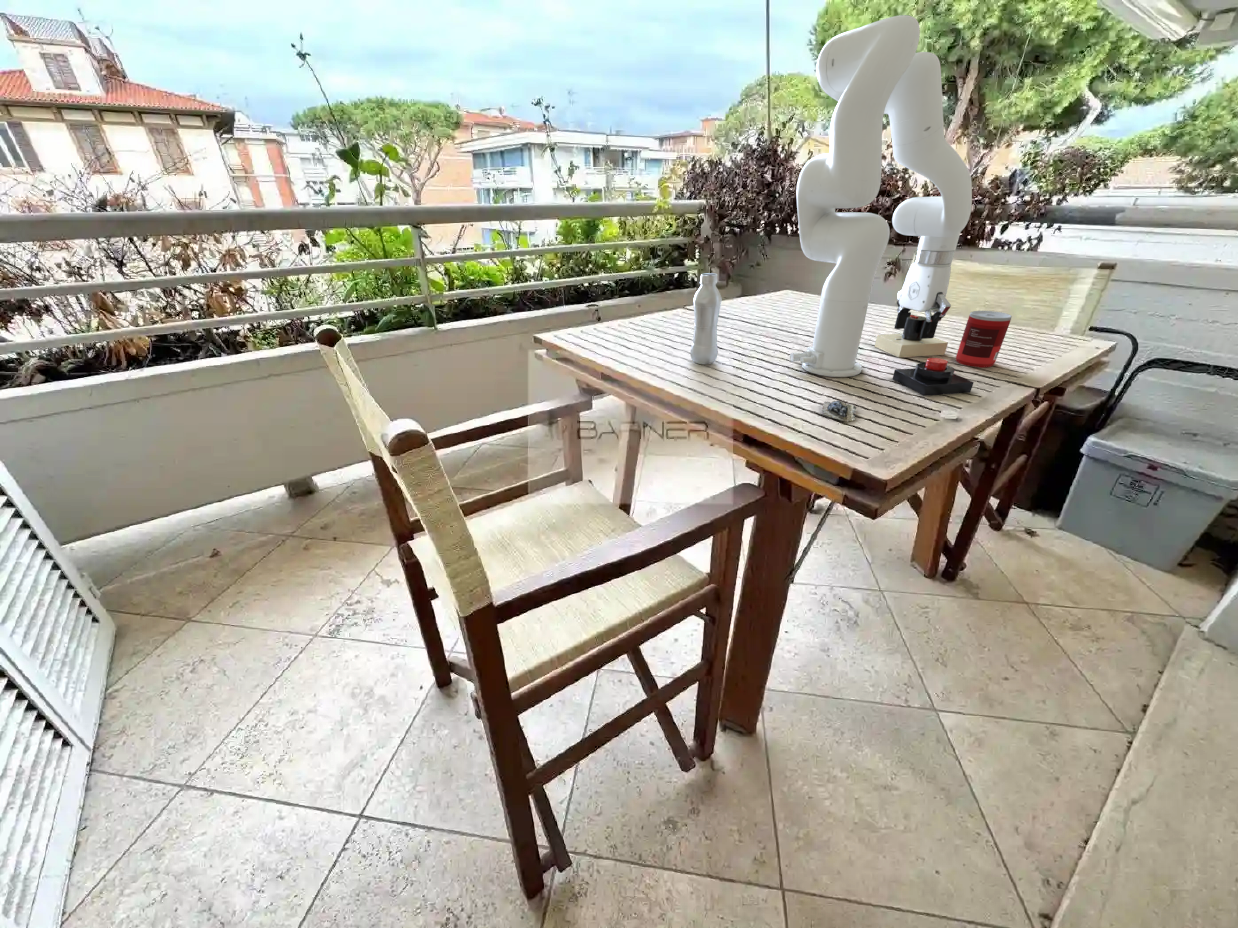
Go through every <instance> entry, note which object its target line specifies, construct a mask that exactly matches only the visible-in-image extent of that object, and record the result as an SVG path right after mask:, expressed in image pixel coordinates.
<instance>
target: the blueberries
mask: <svg viewBox="0 0 1238 928" xmlns="http://www.w3.org/2000/svg"><path fill="white" fill-rule="evenodd" d="M821 406H822V407H821V412H822V413H823V415H824V416H825V417H828V418H833V419H836V420H839V421H840V422H841V421H842V422H845V423H849V422H853V421H855V420H856V418H855V417H856V415H854V414H856V412H857V406H855V405H854V404H850V403H847V402H844V401H841V400H833V401H831V402H830V401H826V400H825V401H823V403H822V405H821Z"/></svg>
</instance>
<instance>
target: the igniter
mask: <svg viewBox="0 0 1238 928" xmlns="http://www.w3.org/2000/svg"><path fill="white" fill-rule="evenodd" d="M926 362H927V361H925V362H919V363H917V364H916V365H915V368H900V369H897V368H896V369H894V372H893V375H892V380H893V381H895V382H896V383H899V384H900V385H902V386H904V387H906V388H908V389H910V390H912V391H913V392H916V393H918V394H919V395H921V396H923V397H926V396H928V397H929V396H941V395H942V396H943V395H955V394H969V393H971V392H972V389H973V386H974V383H975V382H974V381H972V380H969V379H967V378H965V377H963V376H960V375H958V374H956V373H955V370H956V369H955V368H954V367H953V366H951V365H948V364H947V366H946V370H932V369H928V368H925V365H926Z"/></svg>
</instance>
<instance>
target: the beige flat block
mask: <svg viewBox="0 0 1238 928" xmlns="http://www.w3.org/2000/svg"><path fill="white" fill-rule="evenodd" d="M902 334H903V333H888V334H877V335H876V338H875V343H874V348H876V349H878V350H881V351H883V352H885V353H887V354H889V355H891V356H894V357H897V358H912V357H928V356H930V357H931V356H944V355H946V351H947V348H948V345H949V342H948V341H945V340H942V339H939V338H937V337H935V336H934V337H933V338H928V339H922V340H919V341H911V340H905V339H903V338H902Z"/></svg>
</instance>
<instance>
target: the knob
mask: <svg viewBox="0 0 1238 928" xmlns="http://www.w3.org/2000/svg"><path fill="white" fill-rule="evenodd" d="M924 321H927V319H926V316H920V315H919V316H918V315H915V314H911V316H909V317H907V319H906V323H905V327H904V329H903V330H902V333H901V334H902V338H903V339H905V340H911V341H919V340H922V339H921V338H920V335H921V331H922V328H923V324H924Z"/></svg>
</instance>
